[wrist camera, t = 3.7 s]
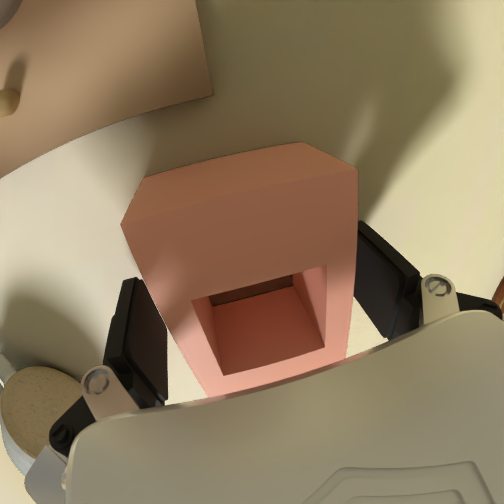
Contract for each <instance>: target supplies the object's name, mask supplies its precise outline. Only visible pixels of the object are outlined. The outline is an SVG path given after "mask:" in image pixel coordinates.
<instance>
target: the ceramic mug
mask: <svg viewBox="0 0 504 504" xmlns="http://www.w3.org/2000/svg"><path fill="white" fill-rule="evenodd" d="M0 379H1V380H2V382H3V383H4V388H3V386H2V385H1V384H0V424H1V430H2V437H3V442H4V446H5V448H6V451H7V453H8V455H9V457H10V458H11V461H12V462H13V463H14V465H15V466H16V468H17V469H18V470H19V471H20V472H21V473H22V474H23V475H25V476H26V474H27V472H28V471H29V469H30V468H31V466H32V465H33V463H34V461H35V460H36V458H37V457H38V455H39V454H40V452H41V451H42V449H43V448H44V446H45V445H47V446H49V445H50V442H49V431H50V429H51V427H52V425H53V424H54V423H55V422H56V421H57V420H58V419H59V418H60V417H61V416H62V415H63V414H64V413H65V412H66V411H67V410H68V409H69V408H70V407H71V406H72V405H73V404H74V403H75V402H76V401H77V400H78V399H79V398H80V397H81V396H82V393H81V389H80V383H79V382H78V381H76V380H75V379H74V378H73V377H71V376H69V375H67V374H65V373H64V372H61V371H59V370H56V369H53V368H49V367H44V366H32V367H27V368H23V369H21V370H19V371H17V370H16V369H15V368H14V366H13V365H12V364H11V363H10V362H9V360H8V359H7V358H6V357H5V356H4V355H3V354H2V353H1V352H0Z"/></svg>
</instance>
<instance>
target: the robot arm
mask: <svg viewBox="0 0 504 504" xmlns="http://www.w3.org/2000/svg"><path fill="white" fill-rule="evenodd" d="M353 296H354V297H355V298H356V300H357V301H358V303H359V304H360V305H361V307H362V308H363V310H364V311H365V312H366V314H367V315H368V317H369V318H370V319H371V321H372V322H373V324H374V325H375V327H376V328H377V329H378V331H379V332H380V334H381V335H382V336H383V337H384V338H386V337H387V339H388V340H389V341H388V342H385V343H383V344H381V345H378V346H376V347H373V348H371V349H369V350H366V351H364V352H361V353H359V354H356V355H353V356H351V357H348V358H345V359H343V360H340V361H337V362H335V363H332V364H329V365H326V366H323V367H320V368H317V369H314V370H311V371H308V372H305V373H302V374H299V375H296V376H292V377H289V378H286V379H282V380H279V381H275V382H272V383H268V384H264V385H261V386H257V387H253V388H249V389H245V390H241V391H237V392H233V393H228V394H224V395H219V396H214V397H209V398H204V399H199V400H194V401H188V402H183V403H177V404H171V405H165V400H168V371H167V328H166V325H165V323H164V321H163V319H162V317H161V316H160V314H159V312H158V310H157V308H156V306H155V304H154V302H153V300H152V298H151V296H150V293H149V291H148V289H147V287H146V285H145V283H144V281H143V280H142V279H141V280H139V279H138V278H137V277H134V278H130V279H126V280H124V281H123V283H122V287H121V291H120V295H119V299H118V303H117V307H116V311H115V315H114V316H113V317H112V320H111V324H110V329H109V333H108V338H107V343H106V348H105V354H104V359H103V365H98V366H94V367H92V368H91V369H89V370H88V371H87V372H86V373H85V374H84V376H83V377H82V380H81V383H80V389H81V393H82V396H81V397H80V398H79V399H78V400H77V401H76V402H75V403H74V404H73V405H72V406H71V407H70V408H69V409H68V410H67V411H66V412H65V413H64V414H63V415H62V416H61V417H60V418H59V419H58V420H57V421H56V422H55V423H54V424H53V425H52V427H51V429H50V431H49V442H50V445H49V446H47V445H45V446H44V448H43V449H42V451H41V452H40V454H39V455H38V457H37V458H36V460H35V461H34V463H33V465H32V466H31V468H30V469H29V471H28V472H27V474H26V476H25V483H24V484H25V488H26V491H27V492H28V494H29V495H30V496H31V498H32V499H33V500H34V501H35V502H36V503H37V504H504V314H502V310H501V309H500V307H499V306H498V305H497V304H496V303H495V302H493V301H491V300H488V299H484V298H480V297H475V296H471V295H467V294H462V293H458V292H456V290H455V287H454V284H453V283H452V282H451V280H449V279H448V278H447V277H445V276H442V275H438V274H430V275H427V276H425V277H424V278H422V277H421V276H420V272H419V271H418V270H417V269H416V268H415V267H414V266H413V265H412V264H411V263H410V262H409V261H407V260H406V259H405V258H404V257H403V256H402V255H401V254H400V253H399V252H398V251H397V250H396V249H394V248H393V247H392V246H391V245H390V244H389V243H388V242H387V241H386V240H384V239H383V238H382V237H381V236H380V235H379V234H378V233H377V232H375V231H374V230H373V229H372V228H371V227H370V226H368V225H367V224H366V223H365V222H364V221H362V220H361V221H358V230H357V253H356V269H355V282H354V293H353Z"/></svg>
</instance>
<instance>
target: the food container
mask: <svg viewBox="0 0 504 504" xmlns="http://www.w3.org/2000/svg"><path fill="white" fill-rule="evenodd" d="M492 301H493V302H495V303H496V304H497V305H498V306H499V307H500V309H501V310H502V314H504V277H503V279H502V280H501V282H500V284H499V286H498V288H497V290H496V292H495V294H494V296H493V298H492Z"/></svg>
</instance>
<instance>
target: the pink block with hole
mask: <svg viewBox="0 0 504 504" xmlns="http://www.w3.org/2000/svg"><path fill="white" fill-rule="evenodd" d="M120 225H121V228H122V230H123V233H124V235H125V238H126V240H127V242H128V245H129V247H130V250H131V252H132V254H133V257H134V259H135V261H136V263H137V266H138V268H139V270H140V272H141V275H142V277H143V279H144V281H145V283H146V285H147V287H148V290H149V292H150V294H151V296H152V298H153V300H154V302H155V304H156V306H157V308H158V310H159V312H160V314H161V316H162V318H163V320H164V322H165V324H166V326H167V327H168V329H169V331H170V333H171V335H172V337H173V339H174V340H175V342H176V344H177V346H178V348H179V349H180V351H181V353H182V355H183V357H184V358H185V360H186V362H187V363H188V365H189V367H190V369H191V370H192V372H193V374H194V375H195V377H196V379H197V380H198V382H199V383H200V385H201V387H202V388H203V390H204V391H205V393H206V395H207V396H208V398H209V397H214V396H219V395H224V394H228V393H233V392H237V391H241V390H245V389H249V388H253V387H257V386H261V385H264V384H268V383H272V382H275V381H279V380H282V379H286V378H289V377H292V376H296V375H299V374H302V373H305V372H308V371H311V370H314V369H317V368H320V367H323V366H326V365H329V364H332V363H335V362H337V361H340V360H343V359H345V357H346V350H347V343H348V336H349V329H350V321H351V312H352V303H353V293H354V282H355V269H356V253H357V230H358V169H356V168H355V167H353V166H351V165H349V164H347V163H345V162H343V161H341V160H339V159H337V158H335V157H333V156H331V155H329V154H327V153H325V152H323V151H321V150H319V149H316V148H314V147H312V146H310V145H308V144H306V143H303V142H298V143H291V144H285V145H279V146H273V147H268V148H263V149H257V150H252V151H247V152H242V153H238V154H233V155H228V156H224V157H219V158H215V159H211V160H207V161H203V162H199V163H195V164H191V165H187V166H183V167H179V168H176V169H172V170H168V171H165V172H161V173H158V174H155V175H151V176H148V177H145V178H143V180H142V182H141V184H140V186H139V188H138V189H137V191H136V193H135V195H134V197H133V199H132V201H131V203H130V205H129V207H128V209H127V211H126V213H125V215H124V218H123V220H122V222H121V224H120ZM291 274H292V279H293V286H291V287H287V288H283V289H280V290H276V291H272V292H269V293H265V294H261V295H257V296H254V297H250V298H246V299H242V300H238V301H234V302H230V303H226V304H222V305H218V306H214V307H212V305H211V302H210V299H209V296H210V295H214V294H218V293H222V292H226V291H230V290H234V289H238V288H242V287H246V286H250V285H253V284H257V283H261V282H265V281H269V280H272V279H276V278H280V277H284V276H287V275H291Z"/></svg>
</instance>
